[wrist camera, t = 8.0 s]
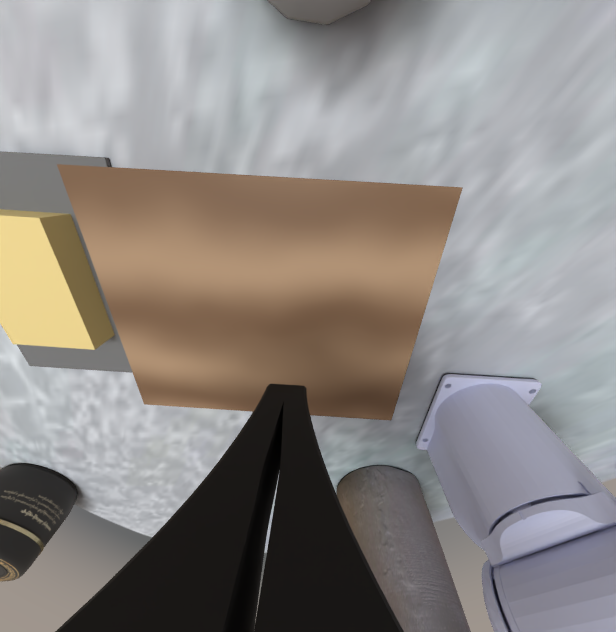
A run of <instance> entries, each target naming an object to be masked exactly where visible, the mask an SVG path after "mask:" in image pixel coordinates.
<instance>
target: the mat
mask: <svg viewBox="0 0 616 632" xmlns="http://www.w3.org/2000/svg"><path fill="white" fill-rule="evenodd" d="M57 164H62V165H80V166H97V167H111V165H110V162H109V158H104V157H86V156H69V155H51V154H34V153H17V152H0V209H5V210H19V211H34V212H49V213H63V214H71V217H72V219H73V222H74V225H75V228H76V230H77V233H78V236H79V238H80V241H81V244H82V247H83V249H84V252H85V255H86V258H87V260H88V263H89V266H90V269H91V271H92V274H93V277H94V280H95V282H96V285H97V288H98V290H99V293H100V296H101V299H102V301H103V304H104V307H105V310H106V312H107V315H108V318H109V321H110V323H111V326H112V329H113V332H114V334H115V335H114V336H113V337H111V338H110V339H109V340H107V341H106V342H105V343H103V344H102V345H101V346H99V347H98V348H97V349H95V350H91V349H76V348H62V347H48V346H34V345H19V344H17V346H18V347H19V349H20V351H21V352H22V354H23V356H24V357H25V359H26V361H27V362H28V364H29V365H30V366H39V367H55V368H70V369H86V370H102V371H117V372H132V369H131V366H130V364H129V361H128V358H127V355H126V353H125V350H124V347H123V344H122V342H121V339H120V336H119V334H118V331H117V328H116V325H115V323H114V320H113V317H112V314H111V312H110V309H109V306H108V303H107V301H106V298H105V295H104V292H103V290H102V287H101V284H100V282H99V279H98V276H97V273H96V271H95V268H94V265H93V262H92V260H91V257H90V254H89V251H88V249H87V246H86V243H85V240H84V238H83V235H82V232H81V229H80V227H79V224H78V221H77V219H76V216H75V213H74V210H73V208H72V205H71V202H70V199H69V197H68V194H67V191H66V188H65V186H64V183H63V180H62V177H61V175H60V172H59V169H58V167H57Z"/></svg>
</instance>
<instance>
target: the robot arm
mask: <svg viewBox="0 0 616 632" xmlns="http://www.w3.org/2000/svg"><path fill="white" fill-rule="evenodd" d="M446 384H448V385H446ZM541 386H542V384H541V383H540V382H539V381H538V380H534V379H519V378H503V377H487V376H471V375H456V374H447V375H445V376H443V378H442V380H441V382H440V385H439V387H438V390H437V392H436V395H435V397H434V400H433V402H432V405H431V407H430V410H429V412H428V414H427V417H426V419H425V422H424V424H423V427H422V429H421V432H420V434H419V437H418V439H417V442H416V446H417V448H418V449H420V450H427V451H428V454H429V456H430V459H431V461H432V464H433V466H434V469H435V471H436V474H437V476H438V478H439V481H440V483H441V486H442V488H443V491H444V493H445V496H446V498H447V501H448V503H449V506H450V508H451V510H452V513H453V515H454V517H455V519H456V520H457V522H458V524H459V525H460V527H461V528H462V529H463V531H464V532H465V533H466V534H467V535H468V536H469V538H470V539H471V540H472V541H473V542H474V543H475V544H477V545H478V546H479V547H480V548H481V549H483V550H484V551H485V553H486V555H487V557H488V559H489V560H487V561H486V562H485V563H484V565H483V568H482V585H483V594H484V600H485V604H486V609H487V612H488V615H489V619H490V621H491V624H492V627H493V630H494V632H616V498H615V497H614V496H613V495H612V493H611V492H610V491H609V490H608V489H607V488H606V487H605V486H604V485H603V484H602V483H601V482H600V481H599V480H598V479H597V478H596V476H595V475H594V474H593V473H592V472H591V471H590V470H589V469H588V468H587V467H586V466H585V465H584V464H583V463H582V462H581V461H580V459H579V458H578V457H577V456H576V455H575V454H574V453H573V452H572V451H571V450H570V449H569V448H568V447H567V446H566V445H565V444H564V443H563V441H562V440H561V439H560V438H559V437H558V436H557V435H556V434H555V433H554V432H553V431H552V430H551V429H550V428H549V427H548V426H547V425H546V423H545V422H544V421H543V420H542V419H541V418H540V417H539V416H538V415H537V414H536V413H535V412H534V411H533V410H532V409H531V408H530V406H529V405H530V403H531V402H532V400H533V399H534V397H535V396H536V394H537V393H538V391H539V390H540V388H541ZM279 470H280V473H279ZM278 475H279V480H278ZM277 480H278V486H277V493H276V499H275V506H274V512H273V519H272V525H271V531H270V538H269V544H268V550H267V557H266V562H265V569H264V575H263V581H262V587H261V593H260V599H259V605H258V611H257V604H258V596H259V587H260V580H261V572H262V564H263V556H264V550H265V542H266V536H267V530H268V524H269V519H270V514H271V509H272V504H273V499H274V495H275V490H276V485H277ZM256 611H257V617H256ZM255 619H256V623H255ZM254 627H255V629H254ZM56 632H404V631H403V629H402V627H401V625H400V623H399V622H398V620H397V618H396V616H395V614H394V612H393V610H392V609H391V607H390V605H389V603H388V601H387V599H386V597H385V595H384V593H383V592H382V590H381V588H380V586H379V584H378V582H377V580H376V578H375V576H374V574H373V572H372V570H371V568H370V566H369V564H368V562H367V560H366V558H365V556H364V554H363V552H362V550H361V548H360V546H359V544H358V542H357V539H356V537H355V535H354V533H353V531H352V529H351V527H350V525H349V522H348V520H347V518H346V516H345V513H344V511H343V509H342V507H341V504H340V502H339V500H338V497H337V495H336V492H335V490H334V487H333V485H332V482H331V480H330V477H329V475H328V472H327V469H326V466H325V464H324V461H323V458H322V455H321V452H320V449H319V446H318V443H317V439H316V436H315V432H314V429H313V425H312V421H311V417H310V413H309V408H308V402H307V388H306V387H305V386H301V385H286V384H269V385H268V386H267V388H266V390H265V392H264V394H263V396H262V398H261V400H260V401H259V403H258V405H257V407H256V408H255V410H254V411H253V413H252V415H251V416H250V418H249V419H248V421H247V422H246V424H245V425H244V427H243V428H242V430H241V432H240V433H239V434H238V436H237V437H236V439H235V440H234V442H233V443H232V444H231V446H230V447H229V448H228V450H227V451H226V452H225V454H224V455H223V456H222V458H221V459H220V461H219V462H218V463H217V464H216V466H215V467H214V468H213V469H212V471H211V472H210V473H209V474H208V476H207V477H206V478H205V479H204V481H203V482H202V483H201V484H200V485H199V486H198V488H197V489H196V490H195V491H194V492H193V494H192V495H191V496H190V497H189V498H188V499H187V500H186V502H185V503H184V504H183V505H182V506H181V507H180V508H179V509H178V510H177V512H176V513H175V514H174V515H173V516H172V517H171V518H170V519H169V520H168V522H167V523H166V524H165V525H164V526H163V527H162V528H161V529H160V530H159V531H158V532H157V533H156V534H155V535H154V536H153V538H152V539H151V540H150V541H149V542H148V543H147V544H146V545H145V546H144V547H143V548H142V549H141V550H140V551H139V552H138V553H137V554H136V555H135V556H134V557H133V558H132V559H131V560H130V561H129V562H128V563H127V564H126V565H125V566H124V567H123V568H122V569H121V570H120V571H119V572H118V573H117V574H116V575H115V576H114V577H113V578H112V579H111V580H110V581H109V582H108V583H107V584H106V585H105V586H104V587H103V588H102V589H101V590H100V591H98V593H96V594H95V596H93V597H92V598H91V599H90V600H89V601H88V602H87V603H86V604H85V605H84V606H83V607H81V608H80V609H79V610H78V611H77V612H76V613H75V614H74V615H73V616H72V617H71V618H70V619H69V620H68V621H66V622H65V623H64V624H63V625H62V626H61V627H60V628H59V629H58V630H57V631H56Z"/></svg>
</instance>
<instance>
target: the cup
mask: <svg viewBox="0 0 616 632" xmlns="http://www.w3.org/2000/svg"><path fill="white" fill-rule="evenodd" d="M267 1H268V2H269V3H270V4H272V5H273V6H274V7H275V8H276V9H277V10H278V11H279V12H280V13H282V14H283V15H284V16H285V17H286V18H288V19H294V20H300V21H306V22H312V23H318V24H325V25H328V24H330V23H332V22H334V21H336V20H338V19H340V18H342V17H344V16H346V15H348V14H351V13H353V12H355V11H357V10H359V9H361V8H363V7H365V6H367V5H368V4H369V2H370V1H371V0H267Z"/></svg>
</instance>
